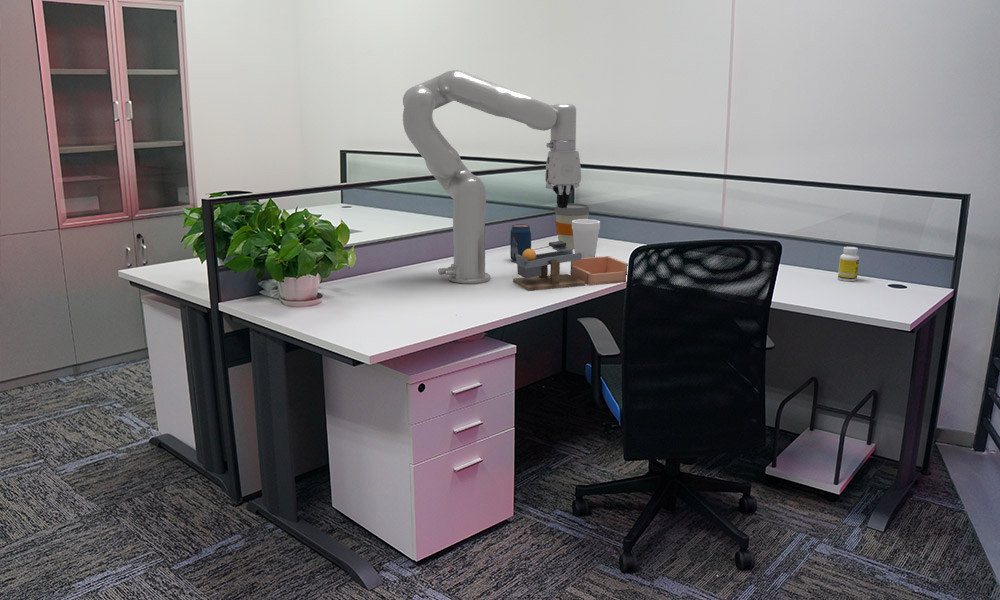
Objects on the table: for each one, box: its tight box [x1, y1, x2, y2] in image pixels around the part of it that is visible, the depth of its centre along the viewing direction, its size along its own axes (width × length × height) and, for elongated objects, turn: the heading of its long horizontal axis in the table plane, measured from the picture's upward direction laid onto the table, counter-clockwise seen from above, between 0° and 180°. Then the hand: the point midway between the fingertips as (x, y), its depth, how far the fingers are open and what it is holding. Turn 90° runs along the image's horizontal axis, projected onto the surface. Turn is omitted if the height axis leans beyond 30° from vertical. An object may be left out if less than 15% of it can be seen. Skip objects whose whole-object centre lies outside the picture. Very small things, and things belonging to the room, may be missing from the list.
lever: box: [516, 240, 582, 278], centre depth 247 cm, size 18×15×6 cm
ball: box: [522, 248, 537, 261], centre depth 241 cm, size 4×4×4 cm
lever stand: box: [512, 261, 586, 292], centre depth 244 cm, size 18×12×8 cm, turn 111°
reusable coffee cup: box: [554, 202, 590, 250], centre depth 300 cm, size 13×13×15 cm
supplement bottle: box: [837, 246, 860, 282], centre depth 248 cm, size 5×5×10 cm
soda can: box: [509, 223, 532, 263], centre depth 276 cm, size 7×7×12 cm
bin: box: [570, 255, 629, 286], centre depth 250 cm, size 13×12×6 cm
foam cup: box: [572, 218, 601, 258], centre depth 278 cm, size 10×9×13 cm
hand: (562, 207), depth 252 cm, fingers closed
